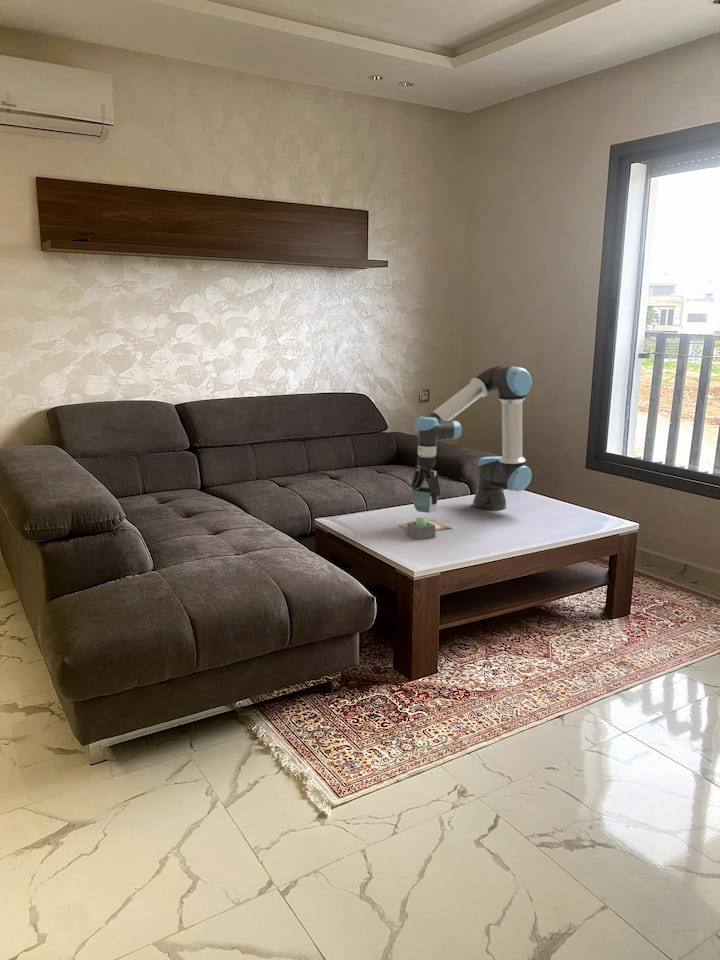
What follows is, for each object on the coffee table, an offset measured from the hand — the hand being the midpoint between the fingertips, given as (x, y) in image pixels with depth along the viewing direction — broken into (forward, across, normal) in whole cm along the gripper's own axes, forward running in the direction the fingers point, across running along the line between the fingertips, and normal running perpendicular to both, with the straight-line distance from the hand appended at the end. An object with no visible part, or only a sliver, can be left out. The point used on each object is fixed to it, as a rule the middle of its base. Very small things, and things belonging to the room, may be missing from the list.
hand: (424, 508), depth 308 cm
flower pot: (+1, 0, 0) cm, 1 cm away
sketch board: (+8, 0, 0) cm, 8 cm away
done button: (+6, +11, -8) cm, 14 cm away
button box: (+8, +10, -8) cm, 15 cm away
